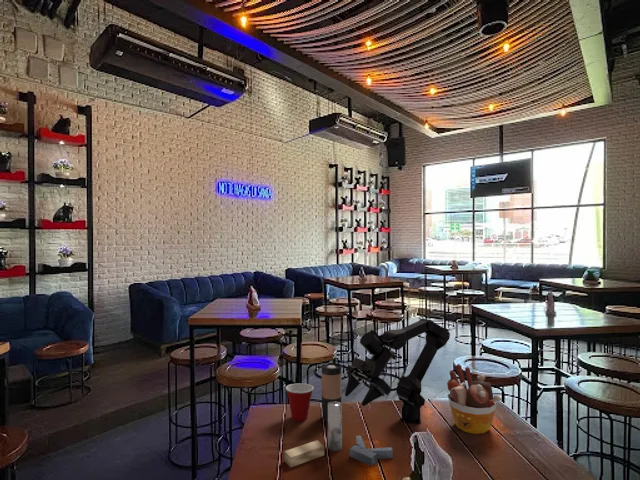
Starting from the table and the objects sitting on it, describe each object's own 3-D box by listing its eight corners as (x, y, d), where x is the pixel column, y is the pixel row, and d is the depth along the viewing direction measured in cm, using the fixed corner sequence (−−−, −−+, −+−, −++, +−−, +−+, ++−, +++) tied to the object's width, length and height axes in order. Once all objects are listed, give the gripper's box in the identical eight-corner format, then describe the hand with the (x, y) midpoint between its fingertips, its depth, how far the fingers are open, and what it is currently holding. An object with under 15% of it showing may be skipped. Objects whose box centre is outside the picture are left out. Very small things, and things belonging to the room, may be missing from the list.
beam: (317, 449, 121) (317, 440, 121) (324, 455, 118) (324, 445, 118) (284, 461, 115) (284, 451, 115) (290, 467, 111) (290, 457, 111)
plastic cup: (317, 413, 146) (317, 383, 146) (308, 426, 136) (307, 393, 136) (292, 409, 150) (292, 379, 150) (281, 422, 140) (280, 390, 140)
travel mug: (340, 423, 138) (339, 369, 138) (319, 421, 140) (319, 368, 140) (342, 414, 146) (342, 363, 146) (323, 412, 147) (323, 361, 147)
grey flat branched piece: (358, 441, 125) (358, 434, 125) (394, 456, 117) (394, 448, 117) (342, 453, 119) (342, 445, 119) (379, 469, 110) (379, 461, 110)
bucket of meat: (509, 439, 127) (508, 380, 127) (462, 442, 125) (462, 382, 125) (478, 412, 147) (477, 362, 147) (437, 415, 145) (437, 363, 145)
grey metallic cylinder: (342, 444, 124) (342, 401, 124) (341, 451, 120) (340, 407, 120) (329, 442, 125) (328, 400, 125) (326, 450, 121) (326, 406, 121)
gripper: (349, 342, 138) (324, 378, 132) (383, 355, 122) (357, 397, 116) (366, 360, 142) (342, 396, 136) (401, 374, 126) (376, 416, 120)
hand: (353, 400), depth 127 cm, fingers open, 9 cm apart
